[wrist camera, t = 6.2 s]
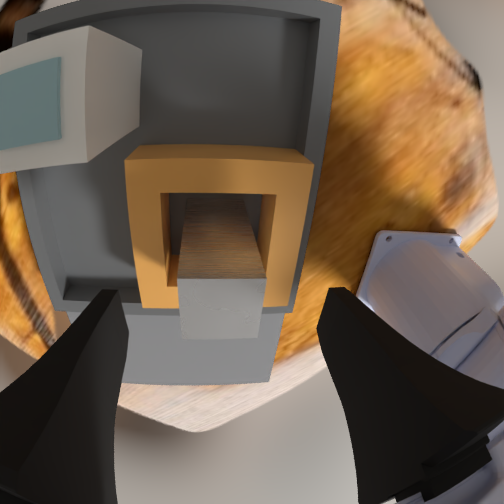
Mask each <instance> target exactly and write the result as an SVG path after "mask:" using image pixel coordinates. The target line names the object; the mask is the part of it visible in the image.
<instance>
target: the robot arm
mask: <svg viewBox="0 0 504 504" xmlns="http://www.w3.org/2000/svg"><path fill="white" fill-rule="evenodd" d="M388 236H389V238H388V239H386V238H387V237H388ZM461 240H462V237H461V236H460V235H459V234H447V233H430V232H411V231H390V230H382V231H379V232H378V233H377V234H376V237H375V240H374V243H373V246H372V249H371V252H370V256H369V259H368V262H367V265H366V268H365V271H364V274H363V276H362V279H361V282H360V285H359V288H358V290H357V293H356V296H355V295H354V294H352V293H351V292H350V291H349V290H347V289H346V288H345V287H335V288H329V290H328V293H327V296H326V299H325V303H324V306H323V309H322V312H321V315H320V319H319V322H318V325H317V328H316V329H317V333H318V338H319V342H320V346H321V350H322V353H323V356H324V359H325V361H326V364H327V366H328V369H329V372H330V374H331V377H332V379H333V382H334V384H335V387H336V389H337V392H338V395H339V397H340V400H341V403H342V406H343V409H344V412H345V416H346V420H347V424H348V428H349V433H350V438H351V443H352V448H353V454H354V460H355V468H356V475H357V487H358V502H359V504H382V503H385V502H387V501H389V500H392V499H394V498H395V499H396V502H397V503H395V504H504V297H503V294H502V292H501V289H500V288H499V286H498V285H497V284H496V283H495V282H494V280H492V279H491V278H490V276H489V275H487V273H486V272H485V271H484V270H482V269H481V268H480V267H479V266H478V265H477V264H476V263H475V262H474V261H473V260H472V259H471V258H470V257H469V256H468V255H467V254H466V253H465V252H464V251H462V250H461V249H460V248H459V246H460V243H461ZM128 340H129V329H128V326H127V322H126V318H125V314H124V310H123V306H122V302H121V298H120V294H119V290H114V289H102V290H101V291H100V292H99V293H98V294H97V295H96V296H95V298H94V299H93V300H92V301H91V302H90V303H89V304H88V306H87V307H86V308H85V309H84V310H83V311H82V313H81V314H80V315H79V316H78V317H77V318H76V320H75V321H74V322H73V323H72V324H71V325H70V327H69V328H68V329H67V330H66V331H65V332H64V333H63V335H62V336H61V337H60V338H59V339H58V340H57V341H56V342H55V343H54V344H53V345H52V346H51V347H50V349H49V350H48V351H47V352H46V353H45V354H44V355H43V356H42V357H41V358H40V359H39V360H38V361H37V362H36V363H34V364H33V365H32V366H31V367H30V368H29V369H28V370H27V371H26V372H25V373H24V374H22V375H21V376H20V377H19V378H18V379H16V380H15V381H14V382H13V383H11V384H10V385H9V386H8V387H7V388H5V389H4V390H3V391H1V392H0V504H118V503H117V495H116V486H115V472H114V424H115V414H116V408H117V403H118V398H119V392H120V387H121V382H122V378H123V373H124V368H125V363H126V358H127V350H128Z"/></svg>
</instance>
